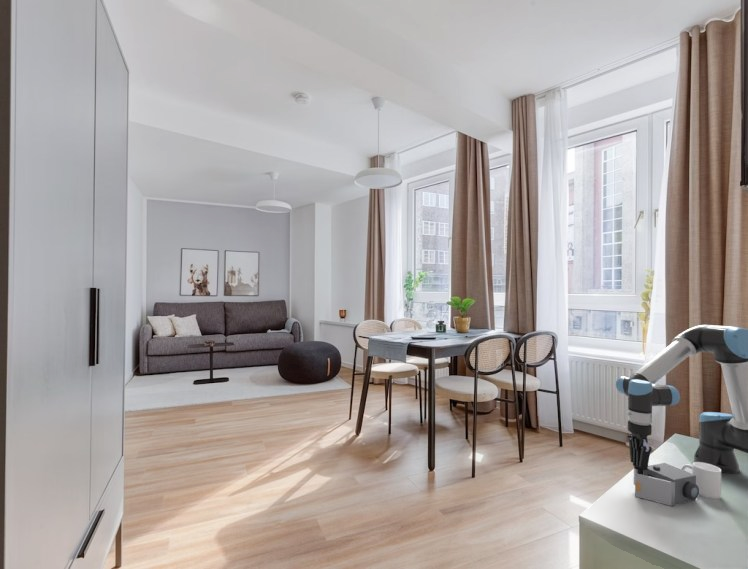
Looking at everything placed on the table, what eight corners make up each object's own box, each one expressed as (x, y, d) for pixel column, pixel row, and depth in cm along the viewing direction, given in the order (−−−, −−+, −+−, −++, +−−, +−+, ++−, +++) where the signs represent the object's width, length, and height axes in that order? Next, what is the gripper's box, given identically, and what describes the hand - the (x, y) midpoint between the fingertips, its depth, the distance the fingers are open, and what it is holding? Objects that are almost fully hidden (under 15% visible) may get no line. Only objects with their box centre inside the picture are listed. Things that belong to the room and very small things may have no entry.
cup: (717, 501, 144) (717, 473, 144) (677, 488, 153) (677, 461, 154) (723, 495, 149) (724, 468, 149) (684, 482, 158) (684, 456, 158)
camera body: (664, 486, 155) (664, 460, 155) (702, 503, 142) (703, 475, 142) (642, 490, 150) (642, 464, 150) (680, 508, 138) (680, 480, 138)
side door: (635, 494, 146) (635, 473, 146) (674, 505, 140) (674, 482, 140) (634, 496, 145) (635, 474, 145) (674, 507, 138) (675, 484, 138)
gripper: (620, 416, 157) (619, 476, 156) (637, 427, 144) (635, 492, 143) (641, 417, 156) (640, 478, 155) (660, 428, 143) (658, 495, 142)
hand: (638, 485), depth 149 cm, fingers closed
